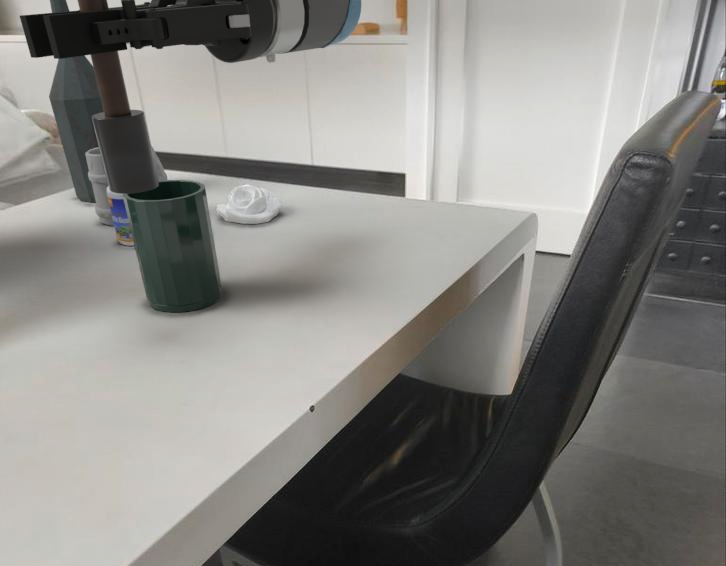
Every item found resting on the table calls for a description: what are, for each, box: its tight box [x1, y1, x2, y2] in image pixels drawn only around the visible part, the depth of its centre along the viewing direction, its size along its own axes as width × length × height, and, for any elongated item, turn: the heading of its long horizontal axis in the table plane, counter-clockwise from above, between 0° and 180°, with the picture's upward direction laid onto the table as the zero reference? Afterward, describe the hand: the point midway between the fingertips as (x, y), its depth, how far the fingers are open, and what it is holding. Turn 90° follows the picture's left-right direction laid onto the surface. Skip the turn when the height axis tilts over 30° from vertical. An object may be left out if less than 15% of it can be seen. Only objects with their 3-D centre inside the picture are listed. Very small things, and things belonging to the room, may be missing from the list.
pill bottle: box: [106, 186, 135, 247], centre depth 95 cm, size 5×5×10 cm
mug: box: [85, 145, 169, 226], centre depth 103 cm, size 8×12×12 cm, turn 95°
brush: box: [77, 0, 159, 194], centre depth 56 cm, size 4×4×20 cm
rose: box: [215, 184, 283, 225], centre depth 104 cm, size 10×4×10 cm
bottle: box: [48, 0, 104, 204], centre depth 110 cm, size 10×10×30 cm
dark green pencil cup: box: [123, 179, 223, 313], centre depth 77 cm, size 9×9×12 cm
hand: (40, 37), depth 52 cm, fingers closed on brush, 2 cm apart
